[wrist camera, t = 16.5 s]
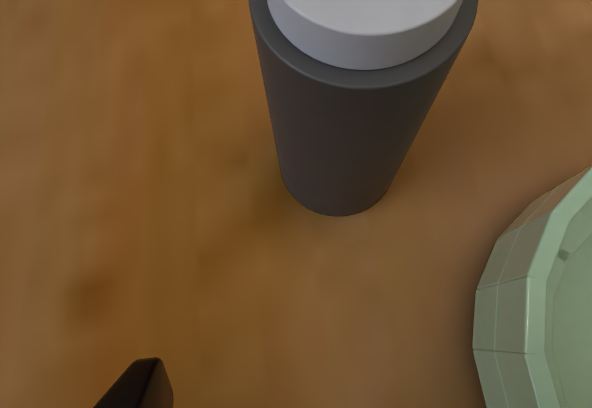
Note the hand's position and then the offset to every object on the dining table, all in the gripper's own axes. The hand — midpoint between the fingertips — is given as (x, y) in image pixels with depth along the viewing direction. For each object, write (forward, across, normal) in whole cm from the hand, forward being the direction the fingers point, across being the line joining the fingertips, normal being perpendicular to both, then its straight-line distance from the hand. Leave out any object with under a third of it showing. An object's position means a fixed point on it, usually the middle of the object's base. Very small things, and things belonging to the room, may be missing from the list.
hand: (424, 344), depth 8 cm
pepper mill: (+13, 0, +2) cm, 13 cm away
